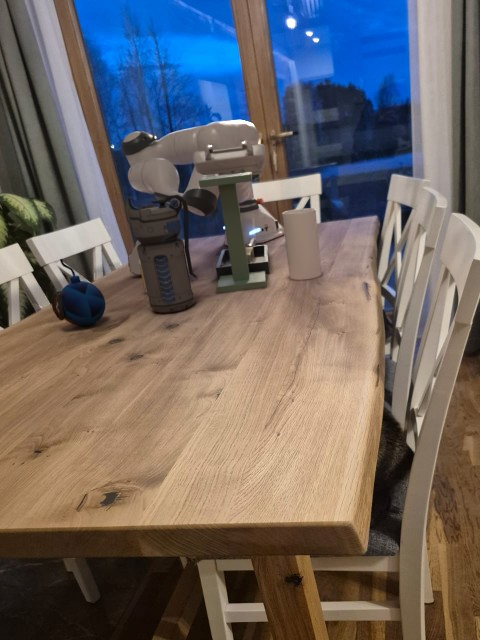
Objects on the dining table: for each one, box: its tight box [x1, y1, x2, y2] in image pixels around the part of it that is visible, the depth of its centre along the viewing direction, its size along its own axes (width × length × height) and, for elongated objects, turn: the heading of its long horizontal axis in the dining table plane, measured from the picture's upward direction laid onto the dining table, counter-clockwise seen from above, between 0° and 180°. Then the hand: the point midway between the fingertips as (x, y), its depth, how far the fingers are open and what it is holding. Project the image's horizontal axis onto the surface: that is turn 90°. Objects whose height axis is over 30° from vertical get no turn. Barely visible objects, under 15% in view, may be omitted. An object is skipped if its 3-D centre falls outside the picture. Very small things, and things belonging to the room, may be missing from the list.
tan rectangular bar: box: [245, 238, 257, 263], centre depth 168 cm, size 22×4×4 cm, turn 177°
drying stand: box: [199, 172, 267, 294], centre depth 142 cm, size 12×12×26 cm
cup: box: [281, 207, 323, 281], centre depth 145 cm, size 8×8×16 cm
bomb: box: [50, 258, 106, 327], centre depth 126 cm, size 10×11×15 cm
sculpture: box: [127, 239, 141, 276], centre depth 176 cm, size 11×18×12 cm
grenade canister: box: [124, 195, 198, 314], centre depth 129 cm, size 10×13×25 cm
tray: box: [215, 244, 271, 281], centre depth 166 cm, size 26×14×3 cm, turn 3°
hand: (226, 144), depth 155 cm, fingers open, 8 cm apart
